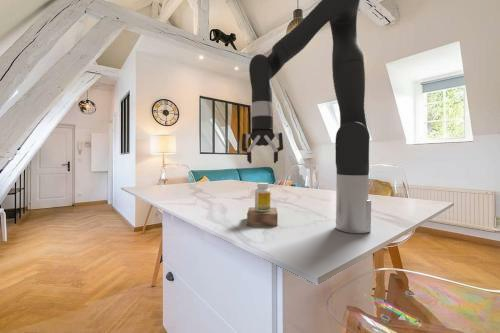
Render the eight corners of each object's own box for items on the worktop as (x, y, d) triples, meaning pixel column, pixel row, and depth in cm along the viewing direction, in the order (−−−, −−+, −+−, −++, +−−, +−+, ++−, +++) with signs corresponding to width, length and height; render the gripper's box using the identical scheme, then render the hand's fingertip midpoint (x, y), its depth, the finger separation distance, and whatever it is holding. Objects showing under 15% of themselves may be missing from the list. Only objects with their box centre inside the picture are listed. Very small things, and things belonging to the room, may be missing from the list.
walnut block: (276, 218, 87) (276, 207, 86) (277, 226, 77) (277, 214, 76) (249, 217, 87) (249, 207, 87) (247, 225, 77) (247, 213, 77)
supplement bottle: (252, 210, 82) (252, 183, 82) (263, 208, 86) (263, 182, 85) (262, 212, 78) (262, 184, 78) (273, 210, 81) (273, 183, 81)
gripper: (281, 118, 84) (282, 163, 84) (242, 119, 85) (243, 163, 85) (283, 113, 77) (284, 163, 77) (240, 114, 77) (241, 163, 78)
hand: (262, 163), depth 81 cm, fingers open, 8 cm apart
